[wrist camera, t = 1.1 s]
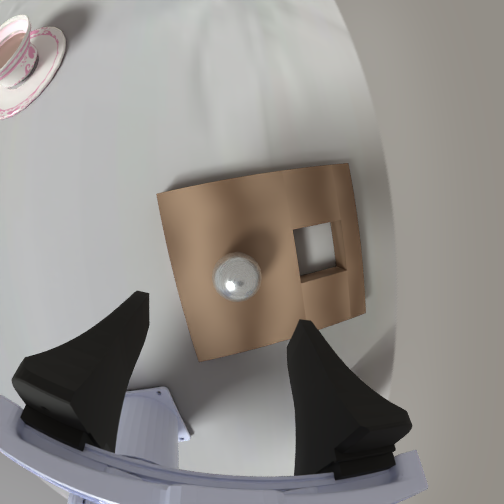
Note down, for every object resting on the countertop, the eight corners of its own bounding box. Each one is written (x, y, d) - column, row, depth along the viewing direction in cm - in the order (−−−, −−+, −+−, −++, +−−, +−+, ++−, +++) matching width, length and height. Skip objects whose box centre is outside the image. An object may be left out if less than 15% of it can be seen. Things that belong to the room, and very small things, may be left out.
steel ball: (216, 298, 21) (220, 314, 18) (206, 254, 20) (208, 263, 17) (259, 288, 22) (271, 301, 18) (251, 244, 21) (262, 251, 18)
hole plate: (198, 351, 23) (198, 362, 21) (159, 195, 21) (156, 193, 19) (355, 306, 26) (365, 312, 24) (337, 166, 24) (348, 163, 22)
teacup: (58, 99, 18) (28, 74, 12) (-21, 134, 15) (-53, 123, 9) (76, 15, 16) (60, -15, 10) (-1, 51, 13) (-23, 32, 7)
